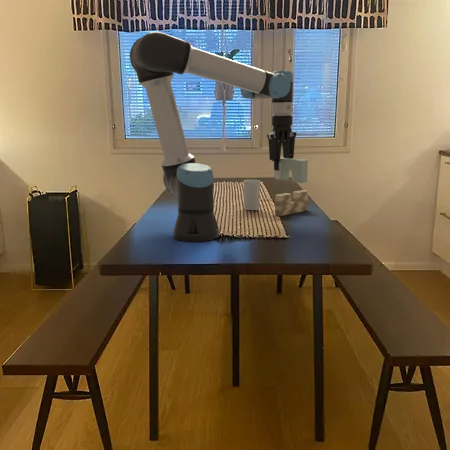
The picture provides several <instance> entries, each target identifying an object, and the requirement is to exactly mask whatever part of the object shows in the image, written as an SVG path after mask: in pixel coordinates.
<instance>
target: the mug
mask: <svg viewBox="0 0 450 450" xmlns="http://www.w3.org/2000/svg"><path fill="white" fill-rule="evenodd" d="M260 193H261V180H259V179H244V180H243V209H245V211H247V210H252V211H251V212H254V211H253V210H256V211H259V210H260V195H261V194H260Z"/></svg>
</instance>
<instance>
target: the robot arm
mask: <svg viewBox="0 0 450 450" xmlns="http://www.w3.org/2000/svg"><path fill="white" fill-rule="evenodd" d="M129 61H130V66H132V68H133V70H134V71H135V73H136V76H137V81H138V83H139V85H140V86H142V87H144V89H145V92H146V97H147V99H148V102H149V107H150V110H151V113H152V117H153V122H154V124H155V128H156V132H157V135H158V140H159V144H160V146H161V151H162V155H163V157H164V159H163V160H162V162H161V167H162V171H163V176H162V177H163V178H162V179H163V180H162V181H163V184H164V186H165V188H166V190H167V191H168V192H169V193H170V194H171V195H173V196H174V197H177V211H178V212H177V217H176V220H175V224H174V228H173V238H174V239H175V240H178V241H182V242H189V243H201V242H210V241H213V240H215V239H217V238H219V237H220V229H219V225H218V222H217V218H216V216H215V214H214V213H215V212H214V208H215V207H214V180H215V177H214V171H213V169H212V167H211V166H209V165H207V164H202V163H197V162H196V159H195V156H194V155H193V154H192V153H190V152H189V149H188V145H187V140H186V137H185V132H184V129H183V125H182V122H181V118H180V112H179V108H178V105H177V102H176V98H175V94H174V89H173V86H172V80H173V78H174V76H175V74H177V75H184V74H186V73H187V74H190V75H194V76H197V77H200V78H204V79H207V80H211V81H213V82H217V83H220V84H224V85H228V86H231V87H235V88H238V89H239V91H240V95H241V97H242V98H243V99H246V100H247V99H248V100H249V99H250V100H253V99H255V100H257V99H258V100H260V99H271V114H272V116H271V125H272V127H273V128H272V132H270V133H267V134H266V138H267V140H268V155H269V160H270V161H272V162H273V170H275V179H274V180H278V179H281V162H279V161H280V157H281V153H282V156H283V158H292V159H295V158H294V155H295V144H296V141H295V140H296V137H297V135H298V134H297V131H292V127H291V126H292V125H293V115H292V114H293V106H294V105H293V101H294V97H293V96H294V75H293V74H294V73H293V72H292V71H291V70H287V69H286V70H285V69H284V70H274V71H272V72H270V71H267V70H264V69H260V68H258V67H255V66H251V65H248V64H245V63H242V62H239V61H236V60H234V59H233V60H232V59H231V58H227V57H225V56H221V55H218V54H216V53H211V52H209V51H205V50H202V49H199V48H197V47H193V46H192V44H191V42H190V41H187V40H183V39H180V38H179V37H175V36H173V35H170V34H167V33H164V32H159V31H151V32H148V33H146V34H145V35H143V36H141V37H139V38H138V39H136V40H135V42H133V44H132V46H131V47H130V50H129ZM174 73H175V74H174Z"/></svg>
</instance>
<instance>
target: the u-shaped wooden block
mask: <svg viewBox="0 0 450 450" xmlns="http://www.w3.org/2000/svg"><path fill="white" fill-rule="evenodd" d="M274 200H275V202H274V206H275V207H274V215H275V214H277V215H276V216H278V215H279V217H283V216H286V215H291V214H296V213H301V212H306V211H308V207H309V206H308V205H309V203H308V201H309V191H308V190H306V189H305V190H303V189H302V190H295V191H292V193H288V192H285V193H277V194H275V197H274Z"/></svg>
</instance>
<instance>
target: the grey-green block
mask: <svg viewBox="0 0 450 450" xmlns="http://www.w3.org/2000/svg"><path fill="white" fill-rule="evenodd" d="M279 162H281V179H277V180H280V181H288V180H290V172H291V182H292V183H299V184H305V183H308V167H309V166H308V162H309V161H308V159H301V158H284V157H281V156H280V161H279ZM273 170H274V169H273ZM273 174H274V177H273V178H274V180H276V179H275V170H274V173H273Z"/></svg>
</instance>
